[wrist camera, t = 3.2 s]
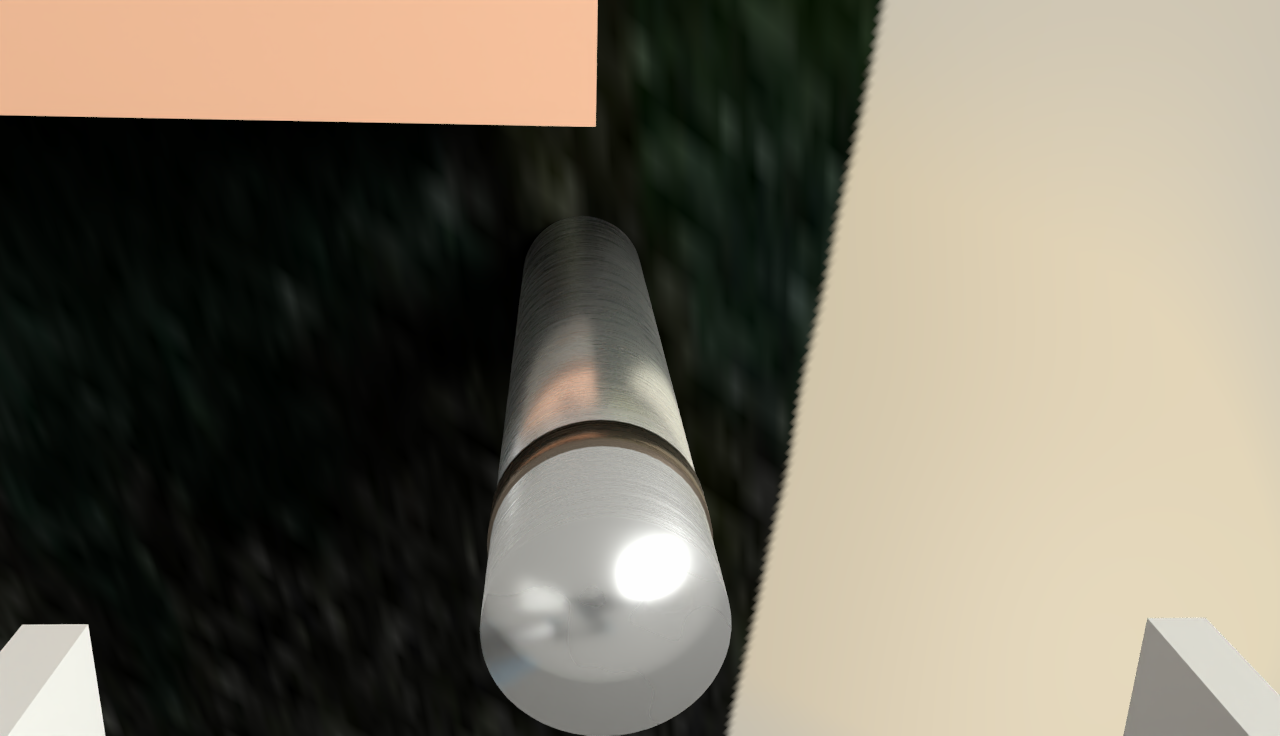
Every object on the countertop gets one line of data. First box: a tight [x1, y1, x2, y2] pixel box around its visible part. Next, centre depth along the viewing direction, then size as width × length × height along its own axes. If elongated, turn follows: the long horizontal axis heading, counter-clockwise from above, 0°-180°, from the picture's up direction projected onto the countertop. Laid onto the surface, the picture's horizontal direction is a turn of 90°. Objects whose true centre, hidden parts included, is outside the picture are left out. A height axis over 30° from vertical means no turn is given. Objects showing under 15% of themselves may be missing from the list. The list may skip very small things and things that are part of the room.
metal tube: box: [480, 216, 731, 736], centre depth 26 cm, size 4×4×20 cm
